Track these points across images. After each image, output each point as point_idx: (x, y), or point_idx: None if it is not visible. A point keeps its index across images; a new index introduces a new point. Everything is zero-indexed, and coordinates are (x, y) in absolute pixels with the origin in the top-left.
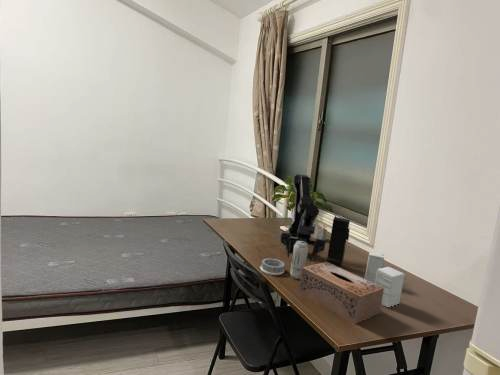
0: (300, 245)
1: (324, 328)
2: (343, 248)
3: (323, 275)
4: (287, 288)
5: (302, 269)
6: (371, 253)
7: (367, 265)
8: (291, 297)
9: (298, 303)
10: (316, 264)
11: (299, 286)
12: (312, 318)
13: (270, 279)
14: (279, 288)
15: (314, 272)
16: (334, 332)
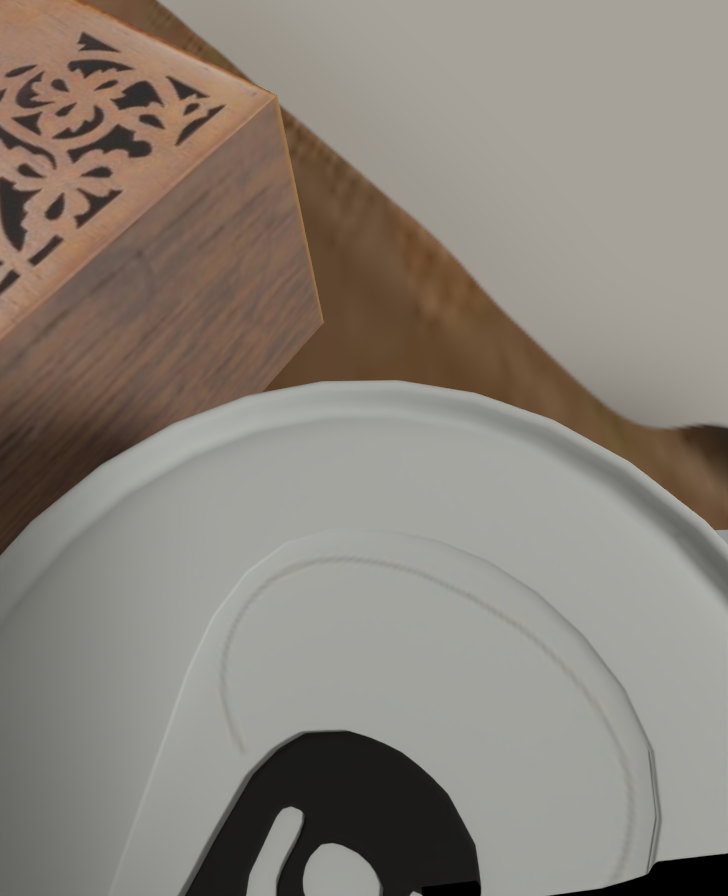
0: (392, 412)
1: (162, 23)
2: None
3: (4, 19)
4: (420, 323)
5: (275, 122)
6: None
7: None
8: (364, 210)
9: (308, 163)
10: (30, 295)
11: (317, 292)
12: (219, 66)
13: (614, 419)
14: (481, 293)
15: (111, 41)
16: (116, 16)
